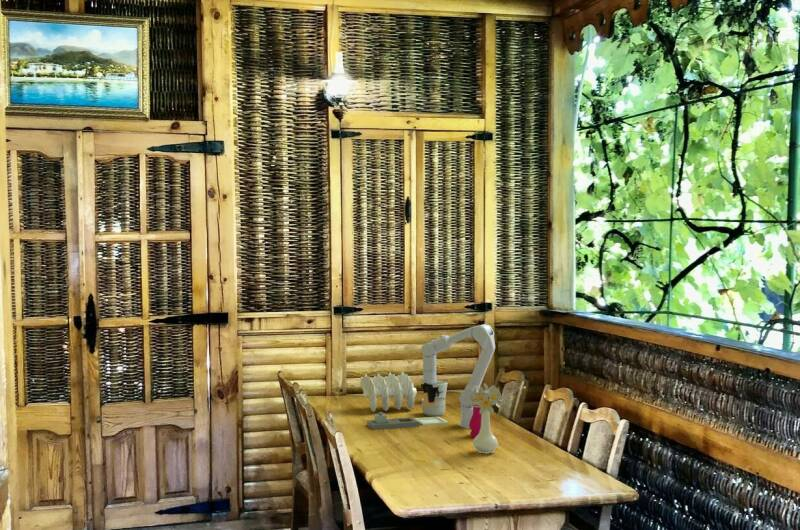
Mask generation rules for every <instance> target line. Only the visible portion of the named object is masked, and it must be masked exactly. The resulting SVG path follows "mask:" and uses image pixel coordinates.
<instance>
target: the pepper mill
mask: <svg viewBox="0 0 800 530" xmlns="http://www.w3.org/2000/svg"><path fill="white" fill-rule="evenodd" d="M480 387H481V386H480ZM480 387H478V390H479V389H480ZM476 388H477V387H476ZM478 392H479V391H478ZM478 394H479V393H478ZM471 399H472V398H471ZM472 401H473V400H472ZM472 406H473V415H472V417H471V420H470V422H469V427H470V432H469V433H470V435H469V436H470V437H471V438H475V437H476V436H477V435H478V434H479V432H480V429H481V418H482V414H480V408H481V406H478V405H476V404H475V405H472Z"/></svg>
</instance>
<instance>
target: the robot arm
mask: <svg viewBox="0 0 800 530" xmlns="http://www.w3.org/2000/svg"><path fill="white" fill-rule="evenodd" d="M466 338H467V339H468V338H469V339H474V340H475V341H476V343H478V344H479V346H480V347H481V350H480V351H481V352H480V354H479V356H478V359H477V361H476V364H475V365H474V369H473V371H472V374H471V376H470V379H469V381H468V383H467V384H466V386H465V387H464V390H463V391H462V392H461V393H460V394H459V396H458V399H459V403H460V423H456V425H458V426H460V427H462V428H463V429H466V430H467V429H470V427H469V422H470V420H471V417H472V415H473V406H472V405H471V403H472V401H471V402H469V401H470V400H471V398H469V397H470V395H471V392H474V387H475V386H476V387H477V386H478V387H481V384H482V383H483V380H484V378H485V375H486V373H487V370H488V368H489V365H490V362H491V360H492V357H493V356H494V353H495V350H496V344H495V342H496V341H495V332H494V330H493V328H492V326H491V325H489V324H488V323H483V324H481V325H476V326H472V327H471V326H470V327H469V328H465V329H463V330H461V331H458V332H457V333H455V334H452V335H447V334H442V335H439V337H438V338H436V339H431V340H430V341H429V342H425V343H424V344H423V345H422V346H421V348H420V349H421V354H422V357H423V358H422V366H423V367H422V377H421V380H420V383H421V384H420V387H421V389H422V392H423V393H428V400H429V402H434V400H435V396H436V393H437V390H438V389H439V387H438V383H437V381H438V380H437V354H438V353H440V352H441V353H442V352H443V351H446V350H448V349H451V348H452V347H453V344H454V343H457V342H459V341H461V340H464V339H466ZM470 430H471V429H470Z"/></svg>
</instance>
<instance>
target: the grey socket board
mask: <svg viewBox="0 0 800 530" xmlns="http://www.w3.org/2000/svg"><path fill="white" fill-rule="evenodd" d="M366 426H367V427H369V429H370V428H371V429H372V430H373V431H379V430H391V429H392V430H393V429H403V428H418V427H420V424H419V422H418V421H417V420H415V419H414V418H413V417H410V416H409V417H398V418H397V417H396V418H395V417H394V418H387V423H380V424H376V423H375V419H370V420H369V419H368V420H366Z"/></svg>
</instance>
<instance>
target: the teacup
mask: <svg viewBox="0 0 800 530" xmlns="http://www.w3.org/2000/svg"><path fill="white" fill-rule="evenodd" d="M421 406H422V408H421V409H422V412H423V414H424V415H426V416H427V417H440V416H441V417H442V415H443V414H444V413H446V397H445V398H444V397H435V406H426V405H424V404H423V398H421Z"/></svg>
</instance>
